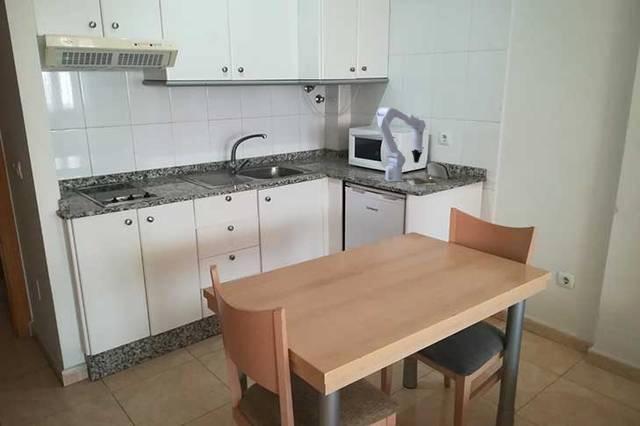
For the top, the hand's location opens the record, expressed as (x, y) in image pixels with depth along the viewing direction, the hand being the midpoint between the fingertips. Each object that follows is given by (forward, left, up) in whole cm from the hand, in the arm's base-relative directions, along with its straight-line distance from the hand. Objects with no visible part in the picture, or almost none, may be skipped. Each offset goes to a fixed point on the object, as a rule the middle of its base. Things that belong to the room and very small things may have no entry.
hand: (416, 162), depth 293 cm
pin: (+4, -17, -7) cm, 19 cm away
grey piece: (+16, +3, -10) cm, 19 cm away
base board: (-1, -15, -9) cm, 17 cm away
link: (0, -17, -9) cm, 19 cm away
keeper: (-5, -18, -9) cm, 21 cm away
